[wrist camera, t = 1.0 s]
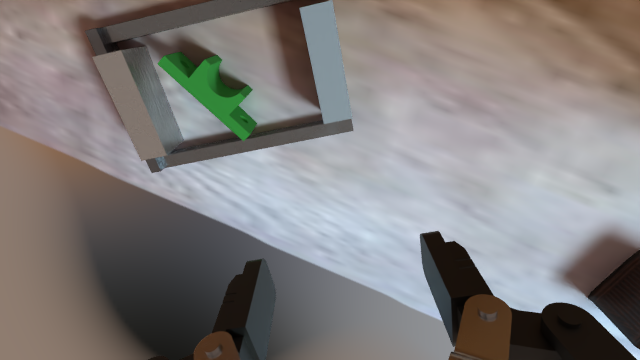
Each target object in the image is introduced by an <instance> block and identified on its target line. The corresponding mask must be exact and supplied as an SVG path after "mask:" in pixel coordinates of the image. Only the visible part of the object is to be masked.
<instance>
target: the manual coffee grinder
mask: <svg viewBox="0 0 640 360" xmlns="http://www.w3.org/2000/svg"><path fill="white" fill-rule="evenodd" d="M588 299H589V300H591V301H592V302H593V303H594V304H595V305H596V306H597V307H598V308H599V309H600V310H601V311H602V312H603V313H604V314H605V315H606V316H607V317H608V318H609V319H610V320H611V322H612V323H613V324H614V325H615V326H616V327H617V328H618V329H619V330H620V331H621V332H622V333H623V334H624V335H625V336H626V337H627V338H628V339H629V341H630V342H631V343H632V344H633V345H634V346H635V347H637V348H638V349H640V250H639V251H638V252H637V253H635V254H634V255H633V256H632V257H630V258H629V259H628V260H627V261H625V262H624V263H623V264H622V265H621V266H620V267H619V268H618V269H617V270H615V271H614V272H613V273H612V274H611V275H610V276H609V277H608V278H607V279H605V280H604V281H603V282H602V283H601V284H600V285H599V286H598V287H597V288H595V289H594V290H593V291H592V292H591V293H590V295H589V297H588Z"/></svg>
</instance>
